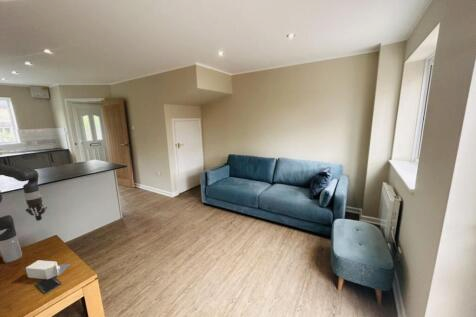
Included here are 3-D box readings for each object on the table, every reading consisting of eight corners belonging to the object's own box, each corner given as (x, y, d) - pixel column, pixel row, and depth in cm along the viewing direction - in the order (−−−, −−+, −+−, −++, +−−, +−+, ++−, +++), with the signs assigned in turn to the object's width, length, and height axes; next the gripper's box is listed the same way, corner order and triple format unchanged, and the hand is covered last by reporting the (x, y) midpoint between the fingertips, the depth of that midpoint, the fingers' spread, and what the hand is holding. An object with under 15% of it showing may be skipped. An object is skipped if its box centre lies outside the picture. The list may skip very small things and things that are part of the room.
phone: (51, 275, 125) (61, 283, 118) (51, 276, 125) (62, 284, 118) (34, 284, 118) (44, 293, 111) (35, 285, 119) (45, 294, 111)
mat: (32, 278, 124) (32, 277, 124) (46, 266, 134) (45, 266, 134) (59, 275, 125) (58, 274, 125) (70, 264, 135) (70, 263, 135)
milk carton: (28, 277, 124) (52, 280, 121) (25, 267, 123) (50, 270, 120) (40, 269, 131) (64, 271, 128) (38, 260, 130) (61, 261, 127)
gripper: (17, 200, 133) (24, 223, 136) (38, 198, 134) (44, 221, 137) (28, 196, 140) (34, 218, 144) (48, 194, 141) (53, 216, 145)
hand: (39, 220), depth 140 cm, fingers closed
